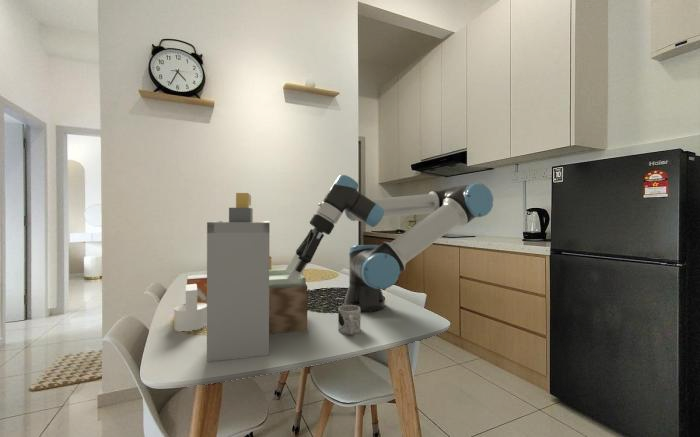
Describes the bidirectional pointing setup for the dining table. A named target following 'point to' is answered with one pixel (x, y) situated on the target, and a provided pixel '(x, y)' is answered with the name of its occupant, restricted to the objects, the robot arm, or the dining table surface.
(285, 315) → the riser
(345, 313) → the mug
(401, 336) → the dining table surface
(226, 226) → the grey tall block
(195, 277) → the small box
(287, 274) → the tray
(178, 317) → the base with upright slab
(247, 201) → the yellow grey boxy piece
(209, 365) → the dining table surface
